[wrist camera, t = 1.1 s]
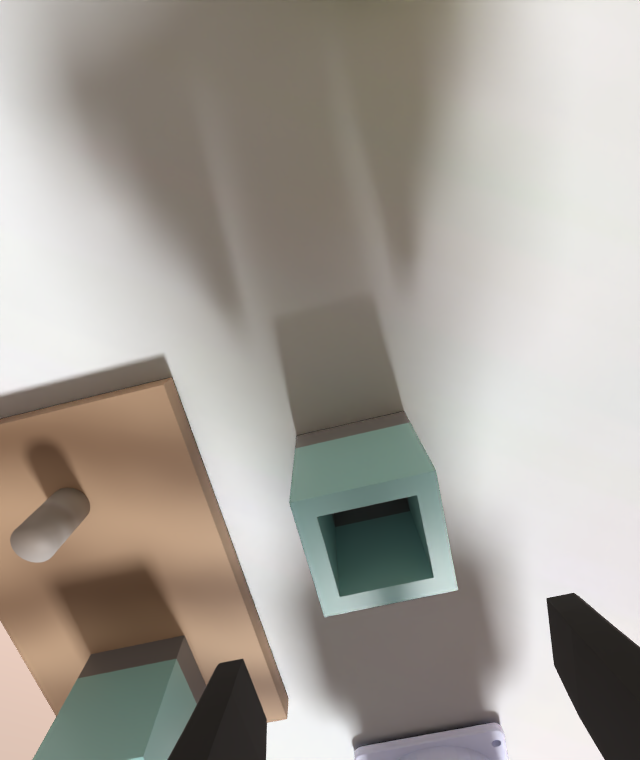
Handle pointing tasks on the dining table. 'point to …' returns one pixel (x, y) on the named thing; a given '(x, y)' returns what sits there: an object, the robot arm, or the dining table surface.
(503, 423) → the dining table surface
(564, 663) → the robot arm
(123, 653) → the seated sleeve
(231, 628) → the pin board
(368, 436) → the sleeve
